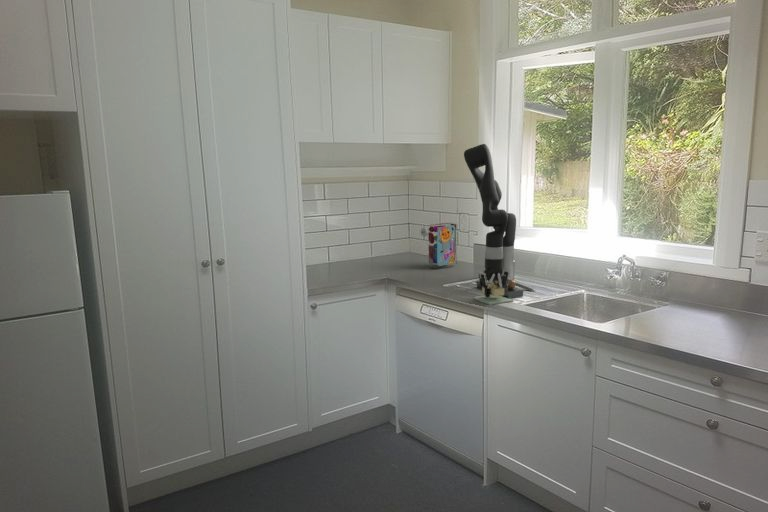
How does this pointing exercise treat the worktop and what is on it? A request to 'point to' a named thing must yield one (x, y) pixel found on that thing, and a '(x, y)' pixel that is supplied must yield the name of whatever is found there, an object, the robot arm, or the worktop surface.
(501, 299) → the mat
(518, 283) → the caliper
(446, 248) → the box
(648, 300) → the worktop surface
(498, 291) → the lever cap
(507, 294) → the hand plane
